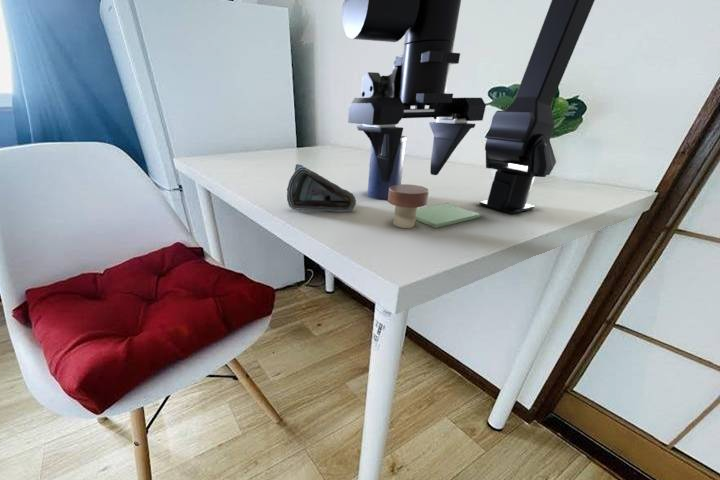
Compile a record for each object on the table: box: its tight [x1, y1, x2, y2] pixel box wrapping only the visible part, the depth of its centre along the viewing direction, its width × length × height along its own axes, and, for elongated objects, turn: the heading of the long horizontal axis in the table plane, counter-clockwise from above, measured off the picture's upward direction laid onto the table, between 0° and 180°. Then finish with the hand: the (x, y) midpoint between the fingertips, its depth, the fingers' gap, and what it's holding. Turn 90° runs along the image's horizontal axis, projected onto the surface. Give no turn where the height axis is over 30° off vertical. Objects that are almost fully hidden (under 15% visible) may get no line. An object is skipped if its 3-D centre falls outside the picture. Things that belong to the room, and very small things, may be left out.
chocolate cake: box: [286, 163, 357, 213], centre depth 56 cm, size 10×7×12 cm
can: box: [367, 135, 408, 200], centre depth 59 cm, size 6×6×11 cm
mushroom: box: [387, 183, 430, 229], centre depth 46 cm, size 6×6×6 cm
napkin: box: [415, 202, 481, 229], centre depth 50 cm, size 10×7×1 cm
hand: (410, 178), depth 44 cm, fingers open, 9 cm apart
